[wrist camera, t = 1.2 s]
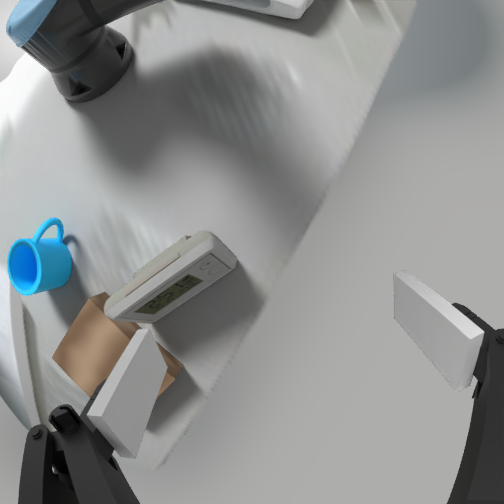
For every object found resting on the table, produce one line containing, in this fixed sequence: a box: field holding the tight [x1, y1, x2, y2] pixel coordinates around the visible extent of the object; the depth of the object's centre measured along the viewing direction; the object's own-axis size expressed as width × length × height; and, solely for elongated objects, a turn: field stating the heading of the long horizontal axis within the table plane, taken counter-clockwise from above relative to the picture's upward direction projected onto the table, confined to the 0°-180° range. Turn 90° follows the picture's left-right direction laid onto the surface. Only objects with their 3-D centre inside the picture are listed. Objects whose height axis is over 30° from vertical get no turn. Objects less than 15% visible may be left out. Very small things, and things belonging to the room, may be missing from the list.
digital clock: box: [104, 231, 237, 323], centre depth 34 cm, size 16×9×11 cm, turn 113°
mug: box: [7, 218, 72, 296], centre depth 35 cm, size 12×8×8 cm
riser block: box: [52, 292, 183, 398], centre depth 37 cm, size 16×14×5 cm
